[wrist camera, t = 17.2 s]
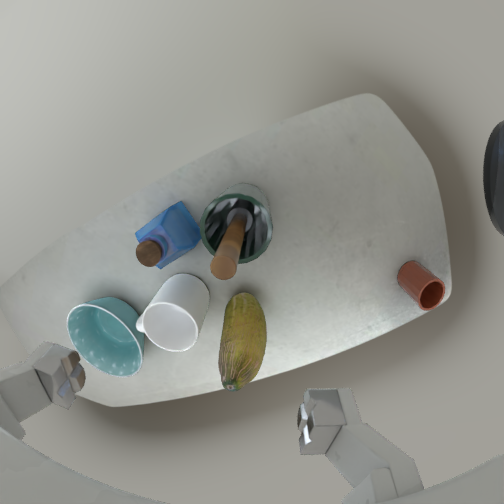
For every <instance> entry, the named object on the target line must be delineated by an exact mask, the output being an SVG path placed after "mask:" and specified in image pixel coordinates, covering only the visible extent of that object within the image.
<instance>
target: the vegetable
mask: <svg viewBox="0 0 504 504" xmlns="http://www.w3.org/2000/svg"><path fill="white" fill-rule="evenodd" d="M266 338H267V336H266V321H265V316H264V313H263V310H262V308H261V306H260V304H259V302H258V301H257V299H256V298H255V297H254V296H252V295H251V294H249V293H239V294H237V295H235V296H233V297H232V298H231V300H230V301H229V302H228V304H227V306H226V309H225V316H224V323H223V330H222V336H221V343H220V351H219V362H218V365H219V371H220V374H221V381H222V385H223V387H224V388H225V389H227V390H229V391H237V390H239V389H241V388H242V387H243V386H244V385H245V384H247V383H249V382H250V381H251V380H252V379H254V377H255V376H256V375H257V373H258V371H259V369H260V366H261V364H262V361H263V356H264V354H265V347H266Z"/></svg>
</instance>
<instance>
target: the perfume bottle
mask: <svg viewBox="0 0 504 504" xmlns="http://www.w3.org/2000/svg"><path fill="white" fill-rule="evenodd" d="M135 234H136V237H137V240H138V242H139V243H140V244H139V245H138V246H137V248H136V256H137V258H138V260H139V262H140V263H141V264H143V265H144V266H147V267H153V266H157V267H158V268H160V269H162V268H163V267H165V266H166V265H168V264H169V263H171V262H172V261H174V260H175V259H177V258H179V257H180V256H182V255H183V254H185V253H186V252H188V251H189V250H191V249H192V248H194V247H195V246H196V245H197V243H198V242H199V241H200V239H201V234H200V228H199V226H198V225H197V223H196V222H195V221H194V219H193V218H192V216H191V215H190V213H189V212H188V210H187V209H186V207H185V206H184V204H183V203H182V201H180V202H178V203H177V204H175V205H173V206H171V207H169V208H168V209H166V210H165V211H164V212H162V213H161V214H160V215H158V216H157V217H156V218H154V219H153V220H152V221H150V222H149V223H148V224H146V225H145V226H144V227H142V228H141V229H140V230H138V231H137V232H136V233H135Z"/></svg>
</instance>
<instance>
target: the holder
mask: <svg viewBox="0 0 504 504" xmlns="http://www.w3.org/2000/svg"><path fill="white" fill-rule="evenodd" d="M397 280H398V284H399V286H400V287H401V288H402V289H403V290H404V291H405V292H406V293H407V294H408V295H409V297H410V298H411V299H412V300H413V301H414V302H415V303H416V304H417V305H418V306H419V307H420V308H421V309H422V310H431V309H434V308H435V307H436V306H437V305H439V303H440V302H441V301H442V299H443V297H444V294H445V285H444V283H443V282H442V281H441V280H440V279H439V278H437V277H436V276H435V275H434V274H432V273H431V272H430V271H429V270H427V269H426V268H425V267H423V266H422V265H421V264H420V263H418V262H416V261H409V262H407V263H406V264H404V265H403V266H402V267H401V269H400V270H399V273H398V277H397Z"/></svg>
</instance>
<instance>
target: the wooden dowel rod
mask: <svg viewBox="0 0 504 504" xmlns="http://www.w3.org/2000/svg"><path fill="white" fill-rule="evenodd" d="M253 218H254V206H253V204H252V203H251V202H250V201H248V200H244V199H241V200H238V201H237V202H235V203H234V205H233V206H232V208H231V210H230V211H229V213H228V215H227V218H226V223H227V226H228V228H227V230H226V232H225V234H224V236H223V239H222V241H221V243H220V245H219V247H218V249H217V251H216V253H215V255H214V257H213V260H212V262H211V265H210V269H211V272H212V274H213V275H214V276H215V277H216V278H218V279H221V280H227V279H230V278H232V277H233V276H234V275H235V273H236V270H237V265H238V261H239V256H240V251H241V247H242V242H243V238H244V233H245V232H247V231H248V230H249V229H250V228H251V227H252V224H253Z"/></svg>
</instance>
